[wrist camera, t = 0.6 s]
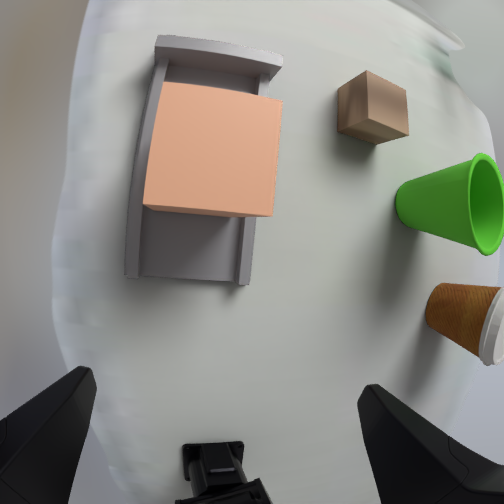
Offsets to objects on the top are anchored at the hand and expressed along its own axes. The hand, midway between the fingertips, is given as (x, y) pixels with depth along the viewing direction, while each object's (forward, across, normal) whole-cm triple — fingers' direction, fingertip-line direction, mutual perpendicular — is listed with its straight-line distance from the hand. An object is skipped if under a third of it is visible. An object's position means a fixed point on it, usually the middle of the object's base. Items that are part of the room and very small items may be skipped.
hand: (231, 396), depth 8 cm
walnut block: (+22, -12, -12) cm, 28 cm away
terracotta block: (+16, +3, -5) cm, 17 cm away
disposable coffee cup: (+20, -28, +8) cm, 36 cm away
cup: (+22, -20, -4) cm, 29 cm away
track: (+18, +3, -6) cm, 19 cm away
